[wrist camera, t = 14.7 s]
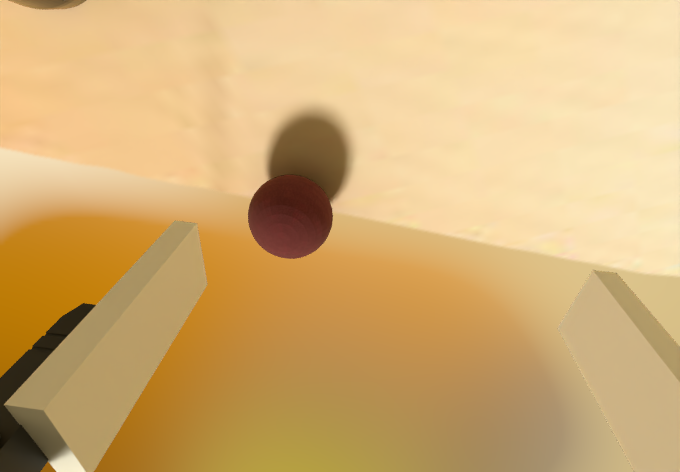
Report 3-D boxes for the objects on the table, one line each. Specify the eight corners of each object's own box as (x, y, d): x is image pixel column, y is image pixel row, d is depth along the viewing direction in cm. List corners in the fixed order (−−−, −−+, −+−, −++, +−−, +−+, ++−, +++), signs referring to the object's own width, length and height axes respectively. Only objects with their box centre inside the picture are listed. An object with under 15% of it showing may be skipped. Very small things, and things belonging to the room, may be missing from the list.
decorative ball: (291, 240, 51) (273, 287, 43) (246, 184, 47) (217, 224, 39) (351, 210, 48) (344, 255, 39) (308, 147, 43) (291, 182, 35)
